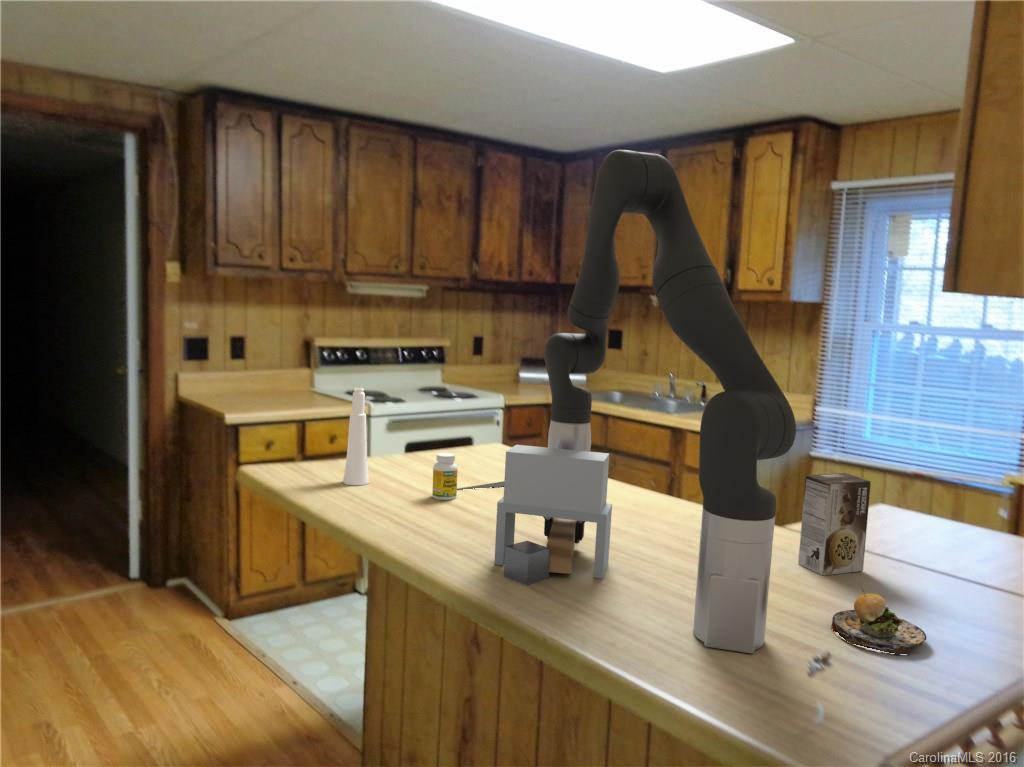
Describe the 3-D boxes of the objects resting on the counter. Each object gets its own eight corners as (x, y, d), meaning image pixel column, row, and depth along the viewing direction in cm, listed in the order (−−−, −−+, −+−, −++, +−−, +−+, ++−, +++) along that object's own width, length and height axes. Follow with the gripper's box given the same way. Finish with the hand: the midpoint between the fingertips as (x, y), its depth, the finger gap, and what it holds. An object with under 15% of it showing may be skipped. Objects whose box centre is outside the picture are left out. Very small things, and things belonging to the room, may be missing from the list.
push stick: (570, 573, 122) (572, 546, 122) (545, 571, 123) (547, 543, 122) (576, 531, 146) (577, 508, 146) (555, 530, 147) (556, 506, 146)
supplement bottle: (446, 493, 174) (447, 451, 173) (461, 498, 170) (463, 455, 169) (427, 496, 170) (428, 453, 169) (442, 501, 166) (444, 457, 165)
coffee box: (836, 560, 140) (844, 472, 138) (864, 572, 134) (873, 480, 132) (795, 563, 136) (804, 473, 135) (822, 576, 130) (831, 482, 129)
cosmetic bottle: (346, 479, 182) (349, 386, 180) (371, 480, 182) (374, 387, 180) (339, 484, 176) (342, 389, 174) (365, 486, 176) (369, 390, 174)
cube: (526, 586, 119) (528, 554, 118) (503, 576, 122) (505, 546, 122) (548, 579, 122) (550, 548, 122) (525, 570, 126) (527, 540, 125)
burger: (924, 666, 98) (930, 609, 98) (825, 642, 104) (830, 589, 103) (926, 633, 109) (931, 582, 108) (836, 614, 115) (840, 565, 114)
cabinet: (602, 578, 124) (610, 461, 122) (494, 564, 128) (499, 451, 126) (608, 565, 130) (615, 454, 128) (505, 551, 135) (510, 444, 133)
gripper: (524, 446, 135) (520, 541, 137) (606, 453, 131) (600, 551, 133) (534, 439, 142) (529, 530, 144) (612, 446, 139) (606, 539, 140)
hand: (563, 540), depth 138 cm, fingers closed on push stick, 4 cm apart
